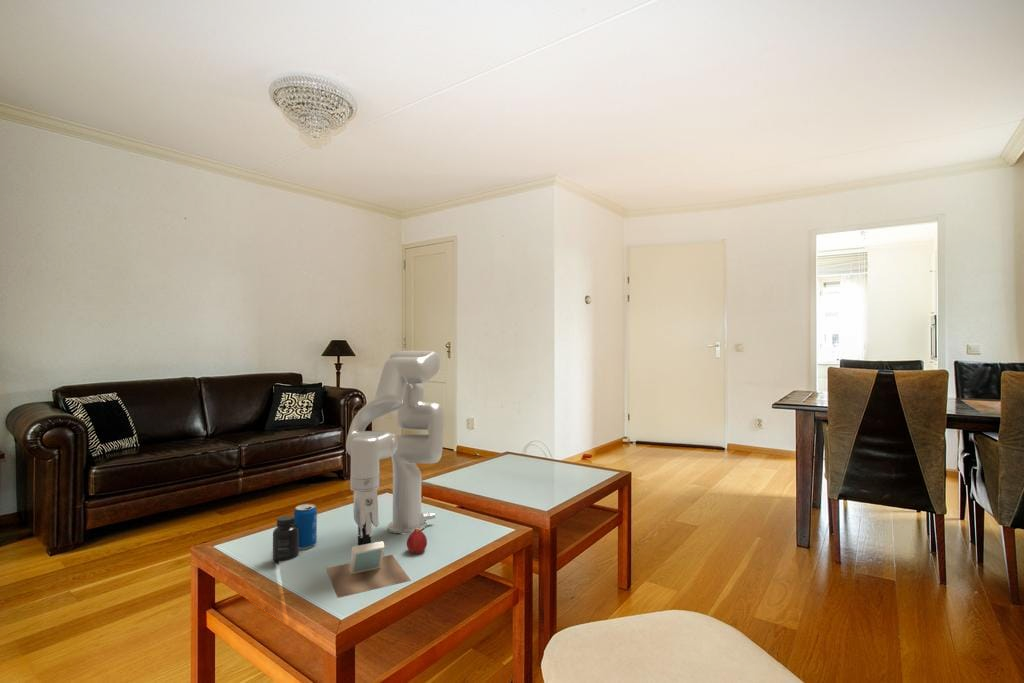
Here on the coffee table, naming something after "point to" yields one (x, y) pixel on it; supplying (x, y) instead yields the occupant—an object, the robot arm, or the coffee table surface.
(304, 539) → the beverage can
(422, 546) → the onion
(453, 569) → the coffee table surface
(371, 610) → the coffee table surface
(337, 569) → the board
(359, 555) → the tile
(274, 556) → the supplement bottle
